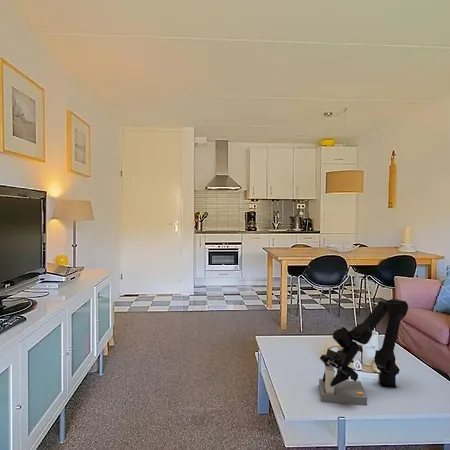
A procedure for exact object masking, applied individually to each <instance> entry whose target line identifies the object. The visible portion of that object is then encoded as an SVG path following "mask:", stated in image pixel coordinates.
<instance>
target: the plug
mask: <svg viewBox="0 0 450 450" xmlns="http://www.w3.org/2000/svg"><path fill="white" fill-rule="evenodd" d="M334 368H335V367H334ZM334 368H333V366H326V367H325V366H324V372H325V394H334V386H333V387H331V386H330V384H331V382H332V381H333V379H334V377H335V373H334V371H335V369H334Z"/></svg>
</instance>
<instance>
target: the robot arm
mask: <svg viewBox="0 0 450 450" xmlns="http://www.w3.org/2000/svg"><path fill="white" fill-rule="evenodd" d="M408 310H409V304H408V303H407V301H406V300H402V299H398V298H394V297H393V298H391V299H387V300H386V299H384V300H379V301H378V302H377V305H376V306H375V308H374V309H373V310H372V311H371V313H370V314H369V315H368V316H367V317H366V319H365V320H364V321H363V322H362V323H359V324H357V325H356V326H355V327H354V328H352V329H351V330H348V329H347V328H346V327H344V326H342V327H341V328H339V329H336V330H335V331H334V332H333V333H332V339H333V340H334V341H335V342H336V343H337V344H338V346H340V348H341V350H340V349H339V350H337V351H334V350H332V349H329V348H327V351H326V354H321V356H320V357H319V359H320V361H321V362H322V363H323V364H324V368H325V367H326V366H333V368H335V369H336V370H334V374H335V373H336V374H335V375H334V379H333V381H332V382H331V384H330V386H331V387H333V386H335V385H337V384H339V383H341V382H343V381H345V380H347V381H350V380H351V381H355V382H356V381H358V379H359V374H358V372H357V371H355V370H354V369H353V368H352V367H350V364H354V362H355V361H354V359H355V357H356V355H357V354H358V353H359V352H360V353H363V352H364V351H363V346H362V345H367V344H368V343H369V342H370V340H371V338H372V337H373V331H374V330H375V328H376V327H377V326H378V324H379V323H380V322H381V320H382V319H383V318H384V316H385V315H386V314H388V320H387V325H386V330H385V334H384V338H383V341H382V345H381V348H380V349H376V350H375V354H374V357H373V359H374V364H375V367H376V369H377V370H379V372H378V376H377V377H378V378H377V379H378V381H377V382H378V383H379V384H380V386H381V387H382V388H391V389H392V388H395V389H396V388H397V385H396V381H397V379H396V378H397V377H396V376H397V375H399V374H400V371H401V369H400V368H399V366H398V365H396V354H395V352H394V351H395V347H396V343H397V342H396V341H397V337H398V334H399V330H400V325H401V321H402V320H403V319H404V318H405V316H406V315H407V313H408ZM322 379H323V380H322V381H323V382H325V371H324V373H323V376H322Z"/></svg>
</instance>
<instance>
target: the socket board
mask: <svg viewBox="0 0 450 450" xmlns="http://www.w3.org/2000/svg"><path fill="white" fill-rule="evenodd" d="M322 380H323V378H318V388H319V394H320V399H321V400H320V401H321V403H334V404H347V405H361V406H362V405H363V406H368V397H367V394H366V392H365V390H364V387H363V385H362V382H361V381H360V380H356V382H355V381H354V380H345V381H343V382H341V383H339V384H337V385H335V386H334V394H325V382H323V381H322Z"/></svg>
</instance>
